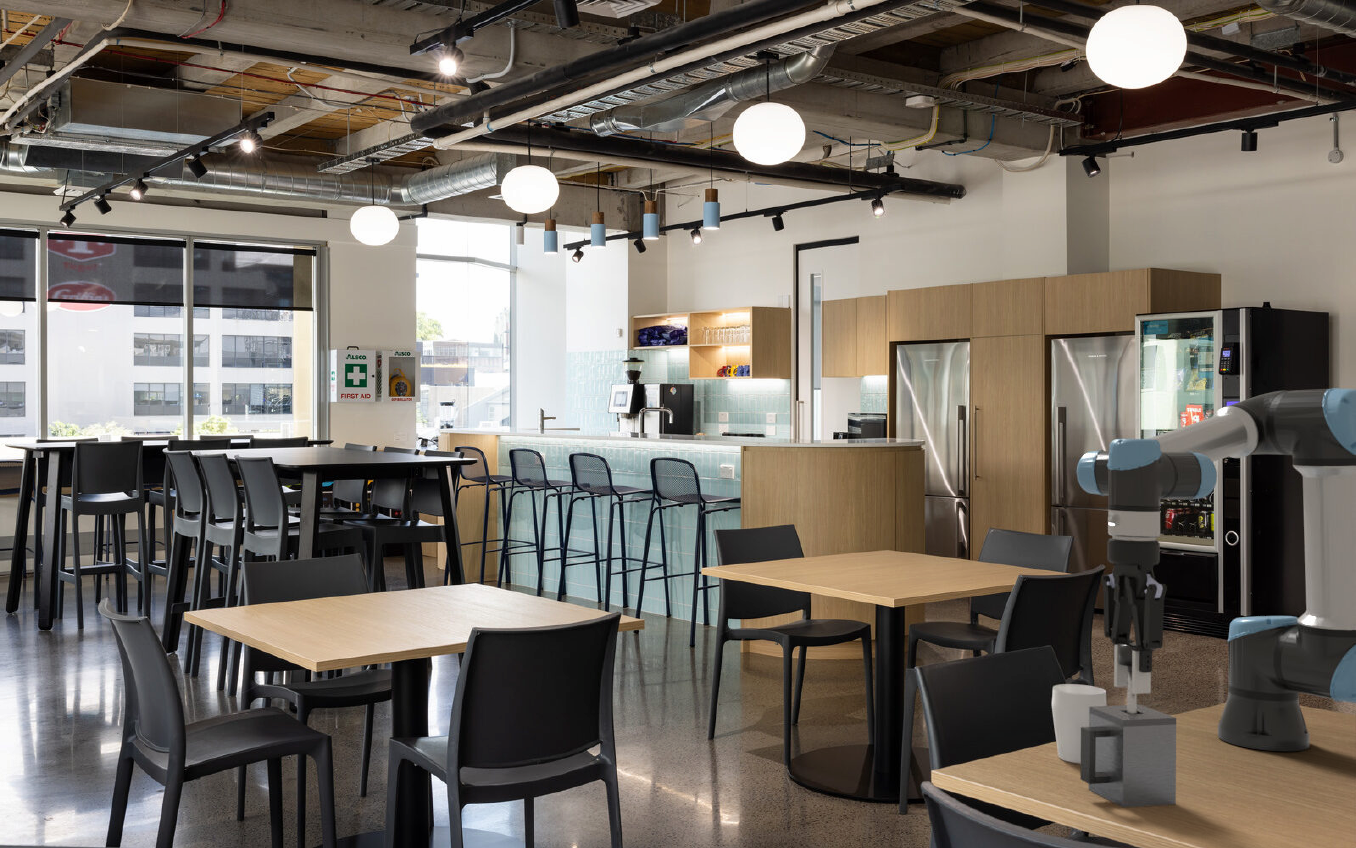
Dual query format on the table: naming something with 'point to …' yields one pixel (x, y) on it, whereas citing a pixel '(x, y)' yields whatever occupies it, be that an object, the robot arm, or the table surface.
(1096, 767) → the grey box with handle
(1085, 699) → the cup
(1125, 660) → the plunger
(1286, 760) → the table surface
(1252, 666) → the robot arm
